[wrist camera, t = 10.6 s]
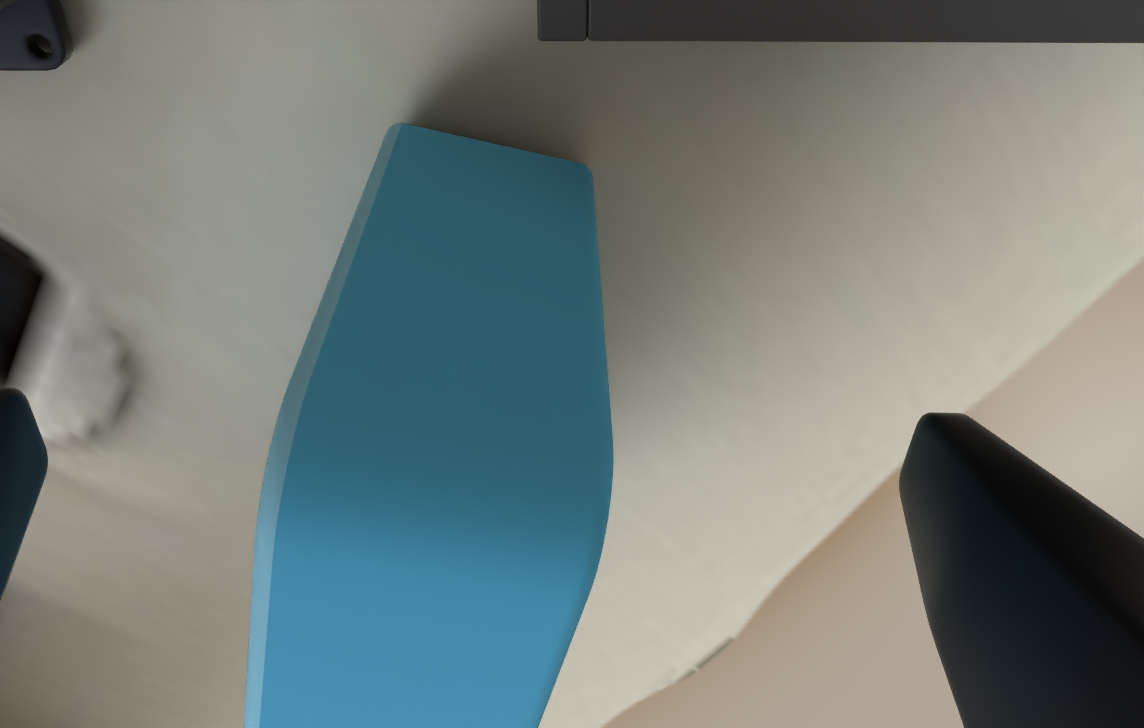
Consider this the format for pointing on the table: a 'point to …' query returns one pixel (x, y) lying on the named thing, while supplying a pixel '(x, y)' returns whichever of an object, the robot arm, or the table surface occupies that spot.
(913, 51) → the table surface
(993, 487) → the robot arm
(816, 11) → the black box
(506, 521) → the data package
